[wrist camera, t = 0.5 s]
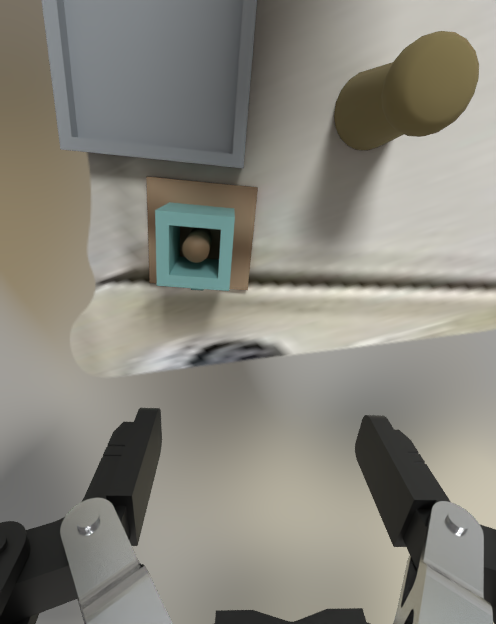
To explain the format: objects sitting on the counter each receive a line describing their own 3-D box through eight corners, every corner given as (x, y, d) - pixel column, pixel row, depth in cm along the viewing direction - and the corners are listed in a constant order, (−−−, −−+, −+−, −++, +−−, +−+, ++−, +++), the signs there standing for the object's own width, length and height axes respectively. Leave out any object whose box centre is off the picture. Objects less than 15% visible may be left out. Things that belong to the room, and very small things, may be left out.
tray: (43, -94, 22) (26, -117, 20) (261, -59, 23) (263, -78, 21) (71, 150, 28) (60, 149, 26) (242, 168, 29) (243, 168, 27)
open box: (169, 202, 30) (155, 210, 24) (234, 208, 30) (234, 217, 25) (169, 279, 33) (157, 302, 27) (228, 284, 33) (228, 307, 28)
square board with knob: (148, 176, 29) (130, 178, 24) (257, 187, 30) (262, 191, 25) (151, 281, 33) (136, 301, 28) (247, 288, 34) (249, 308, 29)
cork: (325, 141, 29) (374, 128, 19) (347, 60, 26) (418, -5, 16) (387, 157, 30) (467, 152, 20) (414, 79, 27) (521, 29, 17)
